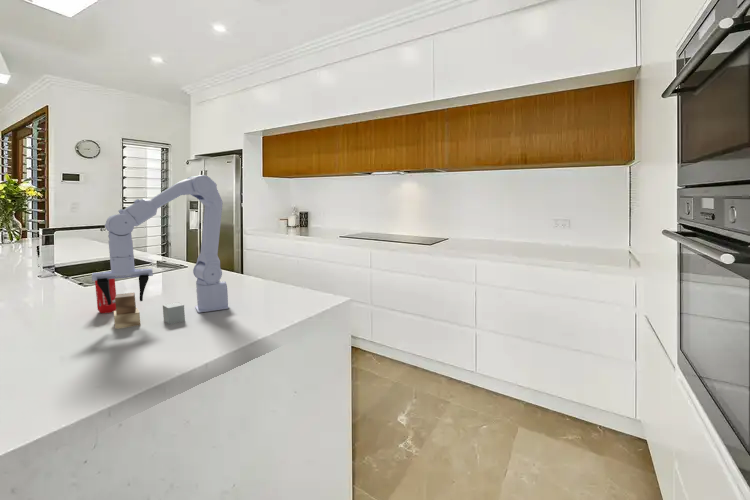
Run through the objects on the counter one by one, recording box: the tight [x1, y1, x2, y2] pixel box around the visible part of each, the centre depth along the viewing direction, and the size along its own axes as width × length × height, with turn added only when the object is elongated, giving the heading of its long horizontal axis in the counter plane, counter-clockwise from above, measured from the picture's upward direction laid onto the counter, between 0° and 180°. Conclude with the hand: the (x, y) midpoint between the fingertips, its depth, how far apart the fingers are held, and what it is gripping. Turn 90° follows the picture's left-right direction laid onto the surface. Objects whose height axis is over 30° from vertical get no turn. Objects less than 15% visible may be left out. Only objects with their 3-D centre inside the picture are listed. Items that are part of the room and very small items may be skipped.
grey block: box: [162, 302, 186, 325], centre depth 113 cm, size 4×4×5 cm
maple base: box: [113, 307, 141, 330], centre depth 110 cm, size 6×6×4 cm
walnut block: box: [115, 292, 137, 315], centre depth 110 cm, size 4×4×5 cm
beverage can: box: [94, 279, 117, 314], centre depth 122 cm, size 5×5×12 cm
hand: (125, 302), depth 110 cm, fingers open, 7 cm apart
